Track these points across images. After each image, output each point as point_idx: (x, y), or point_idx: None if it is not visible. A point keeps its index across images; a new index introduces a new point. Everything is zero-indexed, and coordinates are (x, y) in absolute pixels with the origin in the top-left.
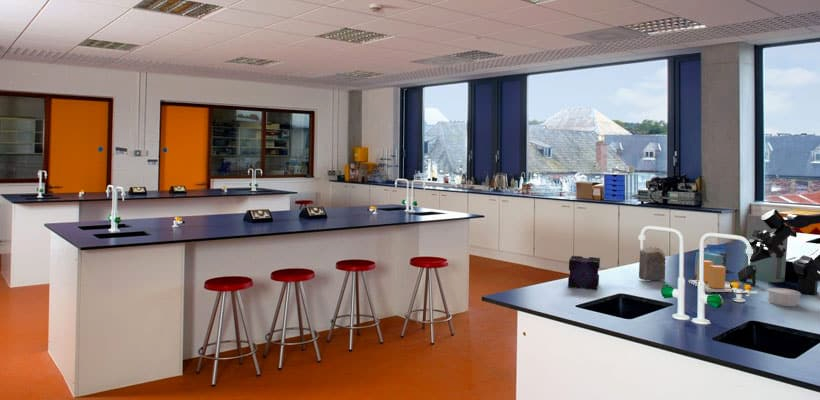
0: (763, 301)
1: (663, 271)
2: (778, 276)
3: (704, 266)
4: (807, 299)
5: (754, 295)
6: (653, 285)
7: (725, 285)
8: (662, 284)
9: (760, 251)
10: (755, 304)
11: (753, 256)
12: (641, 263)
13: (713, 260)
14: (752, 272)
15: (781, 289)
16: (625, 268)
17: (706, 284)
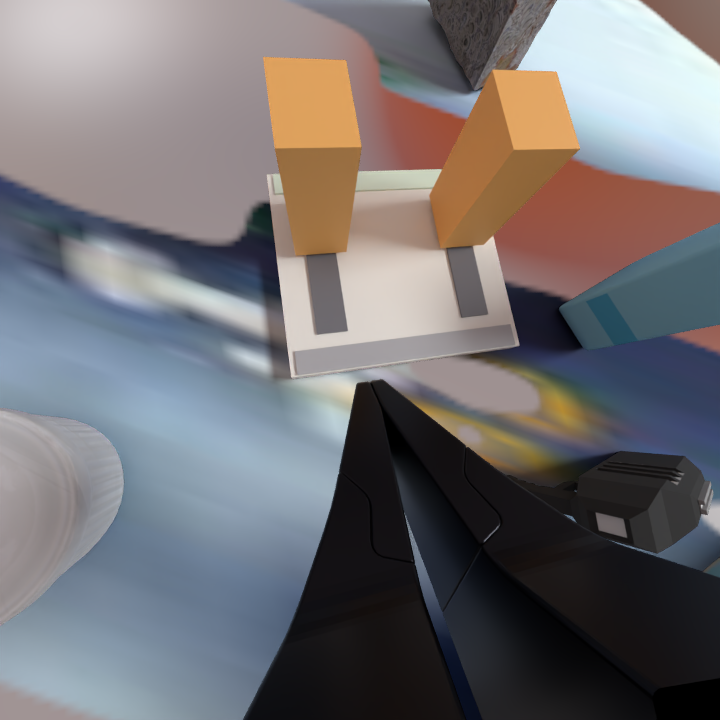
0: (96, 391)
1: (493, 30)
2: None
3: (476, 128)
4: (199, 708)
5: (249, 397)
6: (362, 20)
7: (398, 300)
8: (394, 61)
9: (288, 629)
10: (10, 316)
11: (382, 429)
12: None
13: (694, 251)
14: (572, 498)
15: (8, 523)
16: (665, 42)
17: (395, 213)
